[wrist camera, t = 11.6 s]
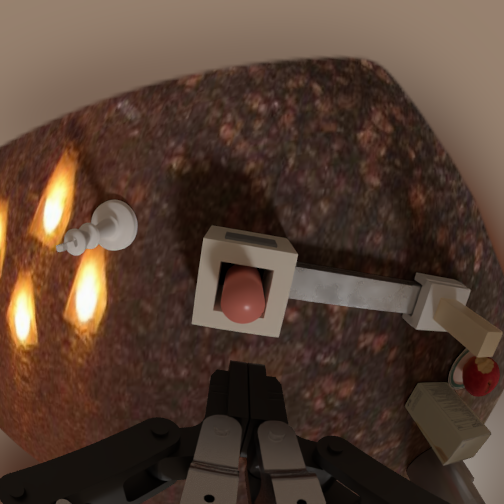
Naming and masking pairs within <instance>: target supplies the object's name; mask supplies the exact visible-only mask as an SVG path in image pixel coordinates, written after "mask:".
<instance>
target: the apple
mask: <svg viewBox="0 0 504 504" xmlns="http://www.w3.org/2000/svg"><path fill="white" fill-rule="evenodd" d="M499 377H500V372H499V367H498V365H497V363H496V362H495V361H494V360H493V359H491V358H489V357H476V356H475V355H474V354H472V353H471V352H470V351H469V350H468V349H467V348H466V349H465V350H464V351H463V352H462V353H461V354H460V355H459V356H458V358H457V359H456V360H455V362H454V363H453V365H452V367H451V369H450V372H449V376H448V383H449V385H450V386H451V387H452V388H453V389H462V388H464V387H465V388H466V390H467V391H468V392H469V393H470V394H471V395H473V396H484V395H486V394H488V393H489V392H491V391H492V390H493V389H494V388H495V386H496V385H497V383H498V381H499Z"/></svg>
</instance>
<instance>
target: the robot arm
mask: <svg viewBox="0 0 504 504" xmlns="http://www.w3.org/2000/svg"><path fill="white" fill-rule="evenodd" d="M282 393H283V392H282V386H281V384H280V383H279V381H278V380H277V379H276V377H270V376H266V369H265V365H262V364H254V363H248V364H247V363H246V362H239V361H232V360H230V364H229V370H228V371H224V370H216V371H215V372H214V373H213V374H212V375H211V380H210V387H209V393H208V400H207V407H206V415H205V418H204V420H203V421H202V422H201V423H200V424H198V425H196V426H193V427H187V428H179V427H178V426H177V425H176V424H175V423H174V422H172V421H171V420H168V419H165V418H157V417H156V418H150V419H147V420H145V421H143V422H141V423H139V424H137V425H135V426H133V427H130V428H128V429H126V430H124V431H122V432H119V433H117V434H115V435H112V436H110V437H108V438H106V439H103V440H101V441H98V442H96V443H94V444H91V445H89V446H86V447H84V448H81V449H79V450H76V451H74V452H71V453H68V454H66V455H63V456H60V457H58V458H55V459H52V460H49V461H47V462H44V463H41V464H38V465H35V466H32V467H29V468H26V469H23V470H19V471H16V472H13V473H9V474H7V475H4V476H3V477H2V478H1V479H0V500H1V502H2V503H3V504H141V503H142V502H144V501H146V500H148V499H149V498H151V497H153V496H155V495H156V494H158V493H160V492H161V491H163V490H165V489H166V488H168V487H169V486H171V485H173V484H174V483H175V482H176V481H177V480H184V479H186V483H185V487H184V490H183V494H182V498H181V502H180V504H236V498H237V489H238V480H239V471H238V462H239V453H240V457H247V465H246V468H245V481H246V489H247V497H248V504H485V502H484V500H483V499H482V497H481V496H480V494H479V492H478V491H477V489H476V487H475V486H474V484H473V483H472V482H473V481H474V477H473V476H472V474H471V473H470V471H469V470H468V468H467V467H466V465H465V463H464V462H463V460H462V461H459V462H456V463H452V464H448V465H444V466H443V464H442V463H441V461H440V459H439V458H438V456H437V455H436V453H435V452H434V450H433V449H432V448H431V449H429V450H427V451H426V452H424V453H423V454H421V455H420V456H419V457H417V458H416V459H415V460H414V461H413V462H412V463H411V464H410V465H409V467H408V469H407V475H408V477H409V479H410V481H409V480H407V479H406V478H404V477H402V476H401V475H399V474H397V473H396V472H394V471H393V470H391V469H389V468H388V467H386V466H384V465H383V464H381V463H380V462H378V461H377V460H375V459H373V458H372V457H370V456H369V455H367V454H366V453H364V452H363V451H361V450H360V449H358V448H357V447H355V446H354V445H352V444H351V443H349V442H348V441H346V440H345V439H343V438H341V437H337V436H326V437H323V438H321V439H320V440H319V441H318V442H314V441H310V440H306V439H303V438H301V437H299V436H297V435H296V433H295V431H294V430H293V428H292V427H291V426H289V425H288V421H287V415H286V409H285V403H284V398H283V394H282ZM336 480H338V481H340V482H341V483H342V484H344V485H345V486H347V487H348V488H349V489H351V490H352V491H354V492H355V493H357V494H358V495H359V496H360V497H359V496H357V495H356V494H355V493H353V492H352V491H350V490H349V489H347V488H346V487H344V486H343V485H342V484H340V483H339V482H338V481H336Z"/></svg>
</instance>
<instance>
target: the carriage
mask: <svg viewBox="0 0 504 504" xmlns="http://www.w3.org/2000/svg"><path fill="white" fill-rule="evenodd" d="M414 280H416V281H417V282H419V283H420V284H422V288H421V291H420V294H419V297H418V300H417V303H416V306H415V309H414V312H413V314H408V313H403V315H402V318H403V319H404V320H405V321H406V322H407V323H408V324H409V325H410V326H413V327H414V328H415V329H416V330H428V331H444V332H449V333H450V334H451V335H452V336H453V337H454V338H455V339H457V340H458V341H459V342H460V343H461V344H462V345H463V346H465V347H466V348H467V349H468V350H469V351H470V352H471V353H472V354H474V355H475V356H476V357H492V356H493V354H494V352H495V350H496V348H497V345H498V343H499V341H500V339H501V336H502V334H503V332H502V331H501V330H499V329H498V328H496V327H495V326H494V325H492V324H491V323H489V322H488V321H487V320H485V319H484V318H482V317H481V316H479V315H478V314H476V313H475V312H474V311H472V310H471V309H469V308H468V307H466V303H467V300H468V297H469V294H470V291H471V290H470V289H468V288H467V287H465V285H463V284H462V283H460V282H458V281H456V280H454V279H449V278H444V277H438V276H433V275H428V274H422V273H417V272H416V275H415V279H414Z"/></svg>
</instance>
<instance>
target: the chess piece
mask: <svg viewBox="0 0 504 504" xmlns="http://www.w3.org/2000/svg"><path fill="white" fill-rule="evenodd" d="M136 233H137V219H136V216H135V213H134V211H133V210H132V209H131V207H130V206H129V205H128V204H126V203H125V202H123V201H120V200H108V201H106V202H104V203H102V204H101V205H99V206H98V207H97V208H96V210H95V211H94V213H93V216H92V219H91V223H85V224H83V225H82V226H81V227H80V228H79V229H71V230H69V231H68V232H67V233H66V235H65V237H64V243H63V244H59V245H57V246H56V248H57V252H58V251H59V252H62V251H65V250H67V251H68V252H69V253H70V254H72V255H80V254H82V253H83V252H84V251H85V249H86V248H87V249H93V248H95V247H96V246H97V245H98V244H99V245H101V246H102V247H103V248H105V249H108V250H120V249H124V248H126V247H127V246H129V245H130V244H131V243H132V242H133V240H134V238H135V236H136Z"/></svg>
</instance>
